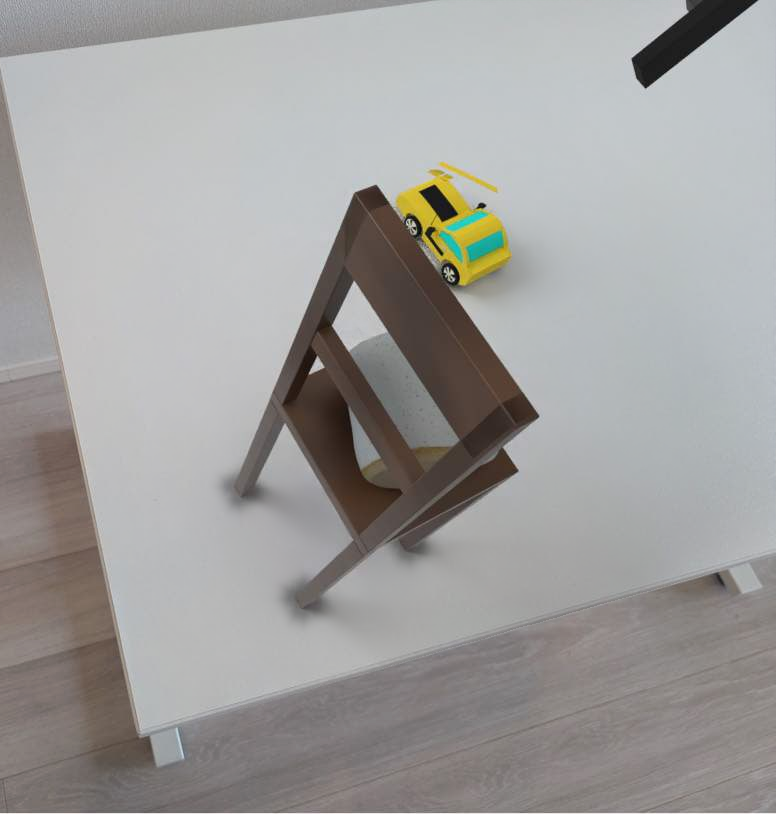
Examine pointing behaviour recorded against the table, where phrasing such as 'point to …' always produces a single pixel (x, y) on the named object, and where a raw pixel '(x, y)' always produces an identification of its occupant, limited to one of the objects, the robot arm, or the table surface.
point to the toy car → (455, 228)
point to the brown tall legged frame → (346, 386)
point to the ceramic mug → (399, 410)
